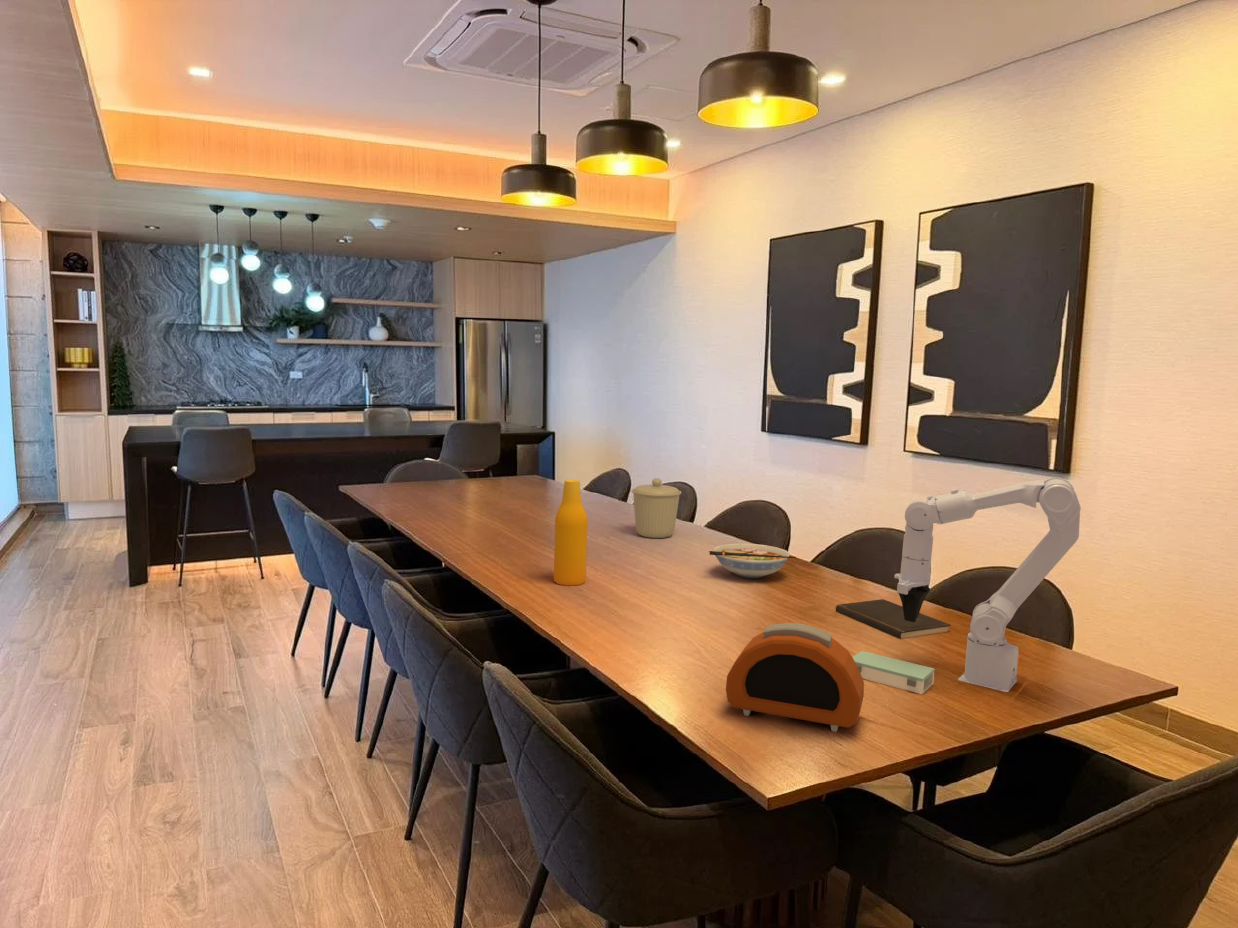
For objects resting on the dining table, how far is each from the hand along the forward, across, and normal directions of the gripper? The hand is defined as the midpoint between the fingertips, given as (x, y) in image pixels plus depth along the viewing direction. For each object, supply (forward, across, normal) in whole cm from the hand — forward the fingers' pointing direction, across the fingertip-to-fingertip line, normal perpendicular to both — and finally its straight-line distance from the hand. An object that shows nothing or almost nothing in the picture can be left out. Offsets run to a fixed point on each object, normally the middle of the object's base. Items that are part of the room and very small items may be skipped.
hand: (910, 620), depth 173 cm
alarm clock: (+11, +38, -7) cm, 40 cm away
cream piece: (+10, +10, 0) cm, 14 cm away
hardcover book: (+11, -30, -14) cm, 35 cm away
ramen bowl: (+12, -45, -62) cm, 78 cm away
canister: (+13, -71, -116) cm, 137 cm away
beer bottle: (+12, -2, -96) cm, 97 cm away
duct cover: (+7, +10, 0) cm, 12 cm away
